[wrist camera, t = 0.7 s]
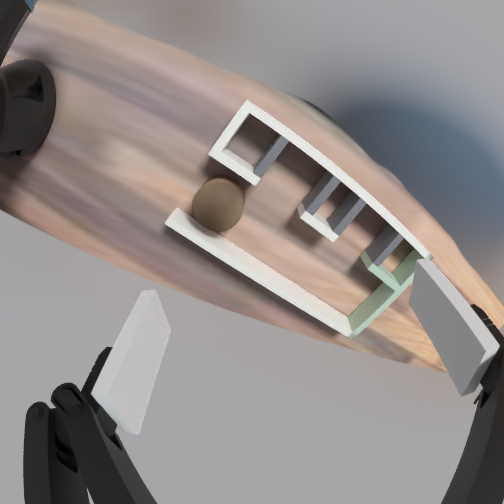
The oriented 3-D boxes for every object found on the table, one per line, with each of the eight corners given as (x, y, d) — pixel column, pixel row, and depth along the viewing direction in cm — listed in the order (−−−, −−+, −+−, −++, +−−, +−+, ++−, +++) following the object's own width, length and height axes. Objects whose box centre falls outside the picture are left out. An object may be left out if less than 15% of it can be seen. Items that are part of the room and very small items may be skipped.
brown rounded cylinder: (191, 203, 36) (183, 213, 32) (215, 166, 34) (209, 173, 30) (228, 227, 37) (224, 240, 33) (253, 192, 35) (252, 202, 31)
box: (173, 213, 36) (164, 223, 33) (248, 101, 30) (246, 99, 27) (347, 324, 43) (352, 339, 40) (423, 246, 37) (434, 257, 34)
